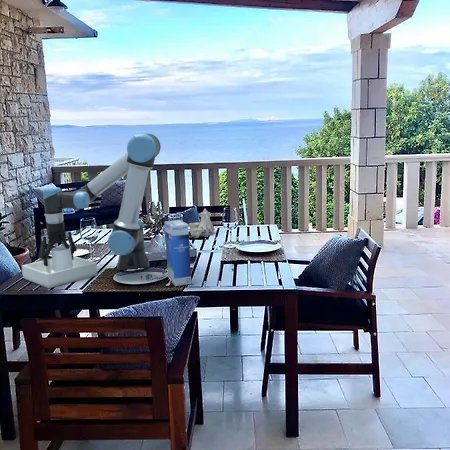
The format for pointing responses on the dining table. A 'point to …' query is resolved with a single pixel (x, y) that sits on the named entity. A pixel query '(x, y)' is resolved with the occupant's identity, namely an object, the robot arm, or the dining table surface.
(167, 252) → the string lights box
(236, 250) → the dining table surface
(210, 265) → the dining table surface
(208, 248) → the dining table surface
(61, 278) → the box
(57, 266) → the cup
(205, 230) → the chinaware
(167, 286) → the dining table surface
